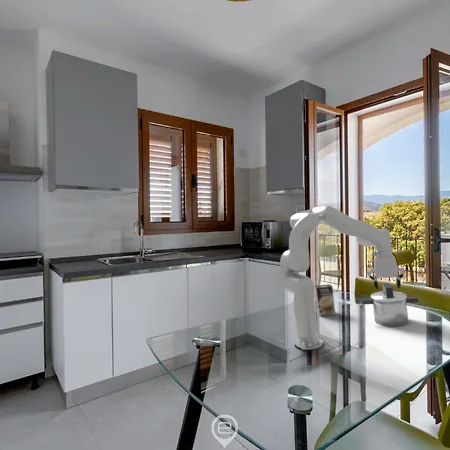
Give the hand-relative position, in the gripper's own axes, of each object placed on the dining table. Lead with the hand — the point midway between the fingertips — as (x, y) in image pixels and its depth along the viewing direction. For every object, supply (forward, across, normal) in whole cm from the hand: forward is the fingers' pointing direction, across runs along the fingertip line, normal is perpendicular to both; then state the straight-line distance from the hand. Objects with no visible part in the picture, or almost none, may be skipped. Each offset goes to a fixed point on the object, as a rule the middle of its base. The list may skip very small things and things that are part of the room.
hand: (387, 288), depth 161 cm
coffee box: (+17, -31, +15) cm, 38 cm away
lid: (+5, 0, 0) cm, 5 cm away
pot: (+17, 0, 0) cm, 17 cm away
